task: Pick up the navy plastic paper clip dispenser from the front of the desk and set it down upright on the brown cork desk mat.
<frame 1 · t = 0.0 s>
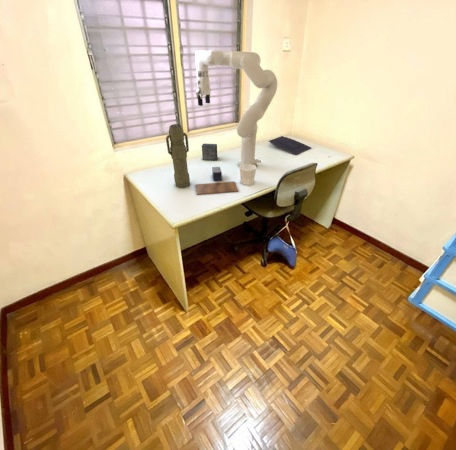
hand: (204, 104, 167), 37 cm above the table, tool pointing down, fingers open, 9 cm apart
small box: (210, 158, 189), on the table
black flat slab: (288, 147, 211), on the table
clip dispenser: (217, 178, 162), on the table
mat: (216, 188, 150), on the table
cup: (247, 182, 157), on the table
thermos: (182, 185, 154), on the table
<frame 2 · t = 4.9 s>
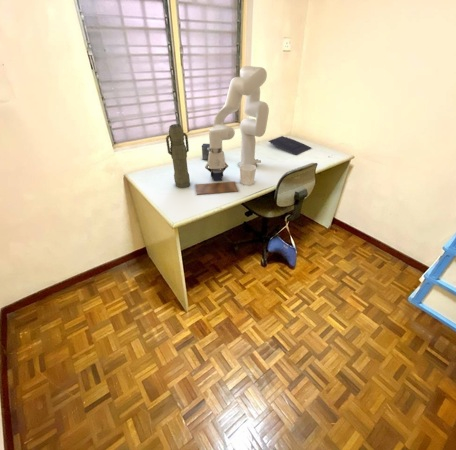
hand: (217, 177, 161), 1 cm above the table, tool pointing down, fingers closed on clip dispenser, 5 cm apart
clip dispenser: (217, 178, 162), on the table, touching gripper
everything else where it was.
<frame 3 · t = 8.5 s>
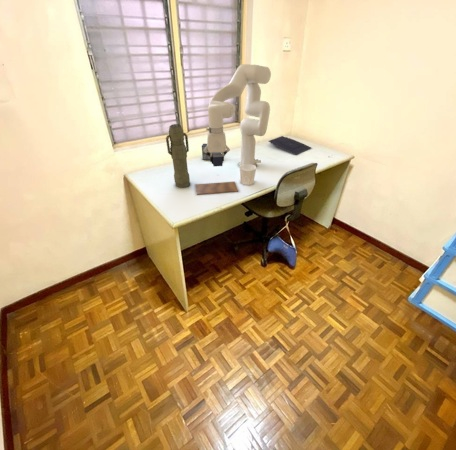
hand: (217, 162, 143), 15 cm above the table, tool pointing down, fingers closed on clip dispenser, 5 cm apart
clip dispenser: (217, 163, 144), point 15 cm above the table, touching gripper
everything else where it was.
when the fingers open (1 cm above the table, at t = 12.2 s): clip dispenser stays where it is, resting on mat.
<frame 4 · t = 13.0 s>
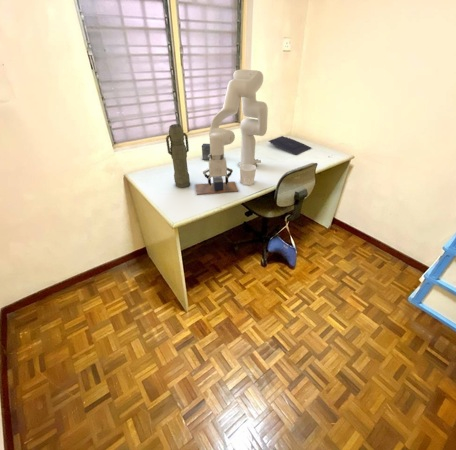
hand: (218, 184, 149), 3 cm above the table, tool pointing down, fingers open, 9 cm apart
clip dispenser: (218, 187, 150), point 1 cm above the table, touching mat
everything else where it was.
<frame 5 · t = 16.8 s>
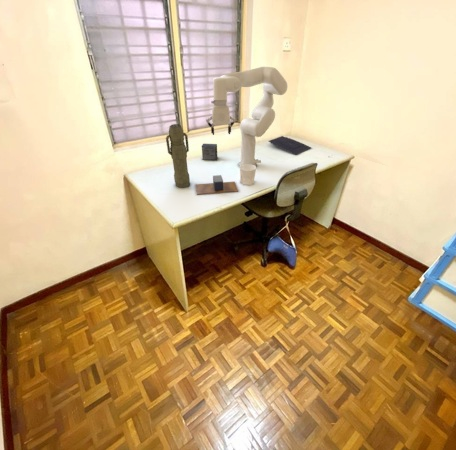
hand: (221, 133, 151), 26 cm above the table, tool pointing down, fingers open, 9 cm apart
nothing on the table moved.
at the end: clip dispenser inside the target area on the mat (0.9 cm from its centre), point 0.6 cm above the mat's base; clip dispenser tilted 0°; the gripper is holding nothing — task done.
